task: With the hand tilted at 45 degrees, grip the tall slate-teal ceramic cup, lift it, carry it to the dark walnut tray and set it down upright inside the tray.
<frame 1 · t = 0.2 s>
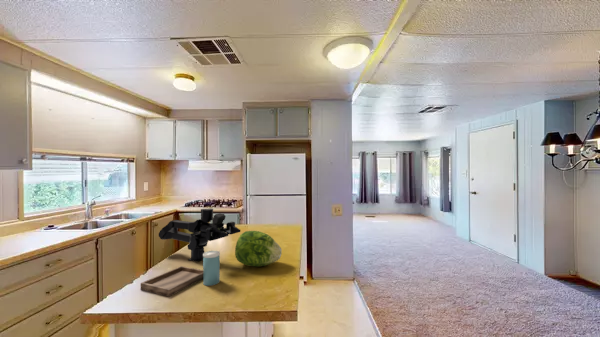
hand: (234, 232, 127), 17 cm above the countertop, tool horizontal, fingers open, 9 cm apart
lettuce: (258, 265, 127), on the countertop
cup: (211, 282, 108), on the countertop
tray: (175, 282, 107), on the countertop
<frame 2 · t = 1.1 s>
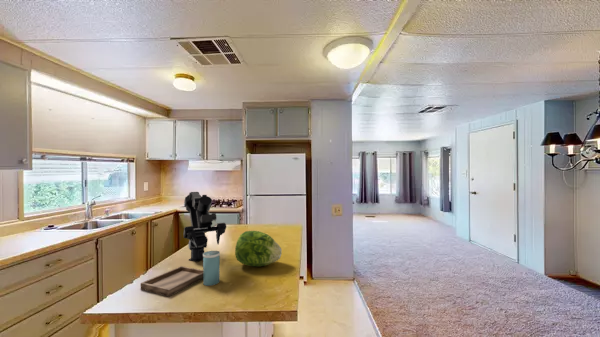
hand: (208, 245, 115), 14 cm above the countertop, tool tilted 45°, fingers open, 9 cm apart
nothing on the countertop moved.
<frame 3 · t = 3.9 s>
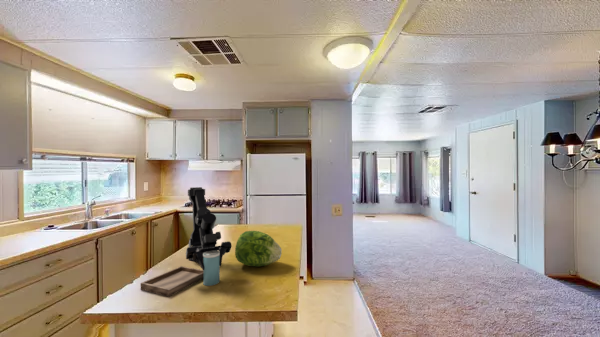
hand: (212, 267, 107), 7 cm above the countertop, tool tilted 45°, fingers closed on cup, 7 cm apart
cup: (211, 282, 108), on the countertop, touching gripper
everything else where it was.
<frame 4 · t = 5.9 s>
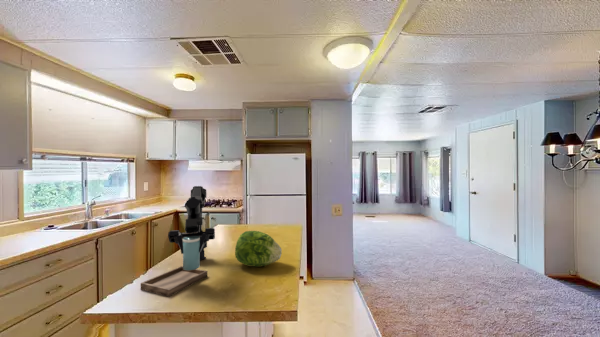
hand: (190, 252, 106), 13 cm above the countertop, tool tilted 45°, fingers closed on cup, 7 cm apart
cup: (191, 267, 107), point 7 cm above the countertop, touching gripper
everything else where it was.
when the fingers open (8 cm above the countertop, at t = 8.1 s): cup stays where it is, resting on tray.
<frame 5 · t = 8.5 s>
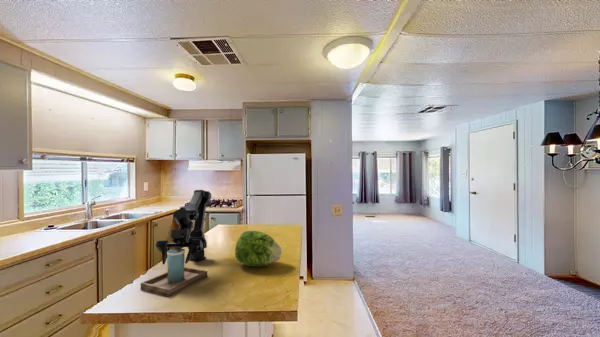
hand: (174, 263, 106), 9 cm above the countertop, tool tilted 45°, fingers open, 9 cm apart
cup: (175, 280, 108), point 1 cm above the countertop, touching tray
everything else where it was.
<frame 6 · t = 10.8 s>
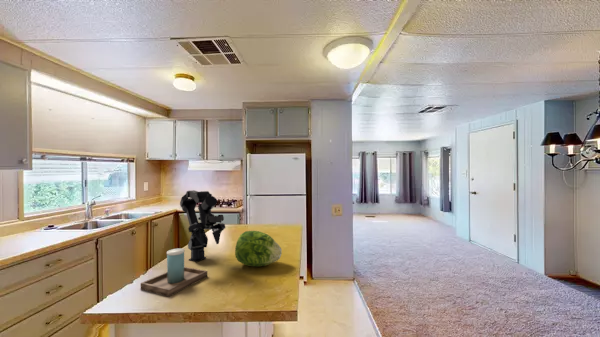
hand: (210, 244, 122), 12 cm above the countertop, tool tilted 30°, fingers open, 9 cm apart
nothing on the countertop moved.
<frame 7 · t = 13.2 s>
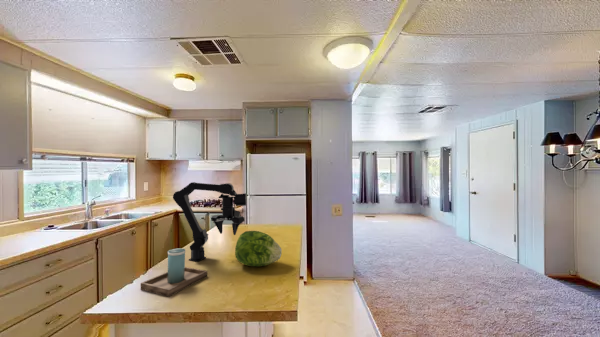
hand: (227, 234, 139), 13 cm above the countertop, tool pointing down, fingers open, 9 cm apart
nothing on the countertop moved.
at the end: cup inside the target area on the tray (0.1 cm from its centre), point 1.1 cm above the tray's base; cup tilted 1°; the gripper is holding nothing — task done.
